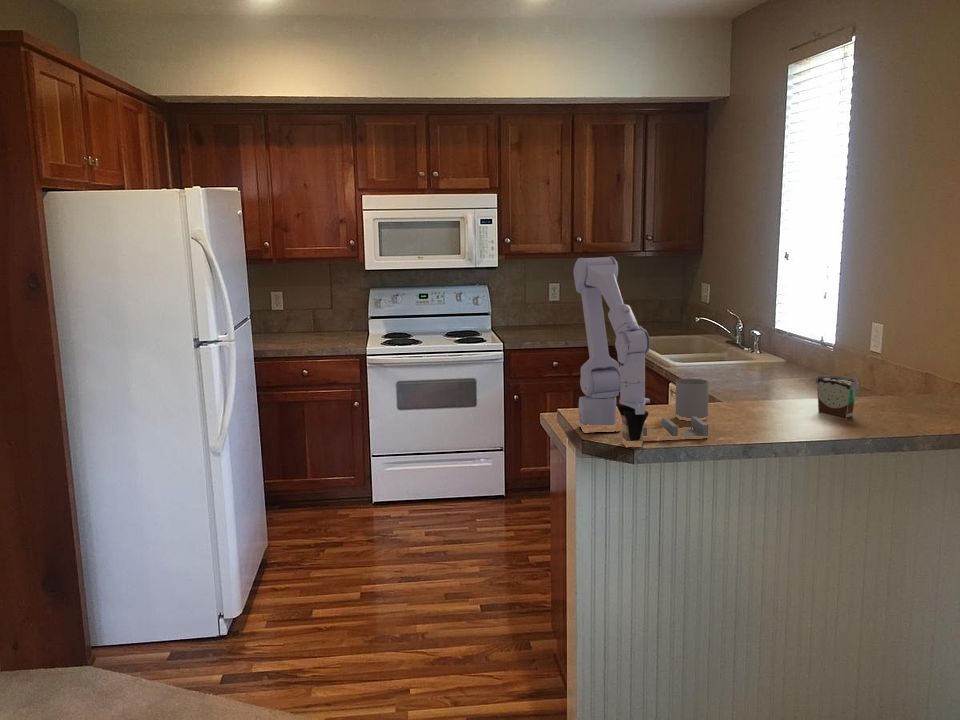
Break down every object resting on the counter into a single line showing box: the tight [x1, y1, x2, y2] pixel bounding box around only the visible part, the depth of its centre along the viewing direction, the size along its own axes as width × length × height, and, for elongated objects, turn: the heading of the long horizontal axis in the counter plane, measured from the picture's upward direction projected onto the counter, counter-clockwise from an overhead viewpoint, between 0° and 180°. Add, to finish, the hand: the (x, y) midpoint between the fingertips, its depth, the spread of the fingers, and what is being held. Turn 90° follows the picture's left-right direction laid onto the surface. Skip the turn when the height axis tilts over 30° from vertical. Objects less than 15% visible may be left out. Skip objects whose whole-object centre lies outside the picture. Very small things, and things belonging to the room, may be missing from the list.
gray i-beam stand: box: [643, 416, 709, 437], centre depth 191 cm, size 16×9×4 cm, turn 93°
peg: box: [621, 415, 643, 441], centre depth 183 cm, size 4×4×7 cm
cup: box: [675, 378, 710, 418], centre depth 208 cm, size 8×8×10 cm
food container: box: [814, 374, 860, 421], centre depth 205 cm, size 12×6×10 cm, turn 22°
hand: (632, 437), depth 183 cm, fingers closed on peg, 4 cm apart
